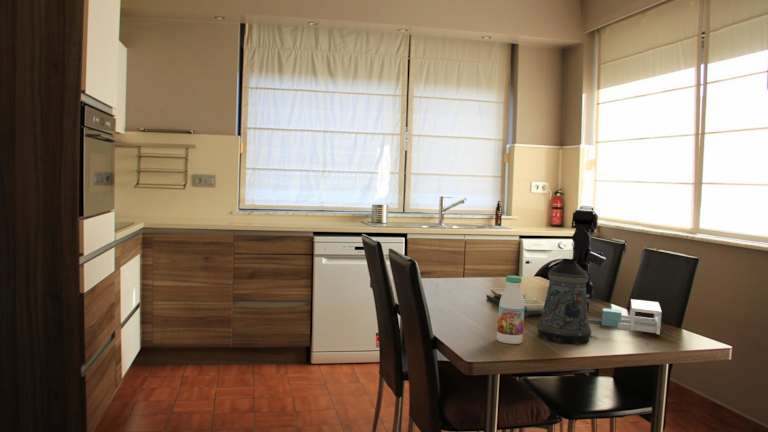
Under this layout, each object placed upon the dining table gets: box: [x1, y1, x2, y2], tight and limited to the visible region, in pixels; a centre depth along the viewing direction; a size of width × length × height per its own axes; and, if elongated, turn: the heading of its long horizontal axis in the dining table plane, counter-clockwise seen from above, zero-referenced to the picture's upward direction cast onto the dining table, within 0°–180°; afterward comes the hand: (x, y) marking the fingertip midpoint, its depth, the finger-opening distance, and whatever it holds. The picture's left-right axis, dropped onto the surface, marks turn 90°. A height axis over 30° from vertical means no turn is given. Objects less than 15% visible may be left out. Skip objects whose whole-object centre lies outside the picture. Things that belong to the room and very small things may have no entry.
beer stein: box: [536, 258, 592, 346], centre depth 201 cm, size 16×19×25 cm
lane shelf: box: [617, 298, 663, 335], centre depth 218 cm, size 21×18×9 cm
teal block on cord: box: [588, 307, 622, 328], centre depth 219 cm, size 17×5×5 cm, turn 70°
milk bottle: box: [496, 275, 526, 345], centre depth 192 cm, size 8×8×20 cm
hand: (578, 287), depth 228 cm, fingers open, 9 cm apart
